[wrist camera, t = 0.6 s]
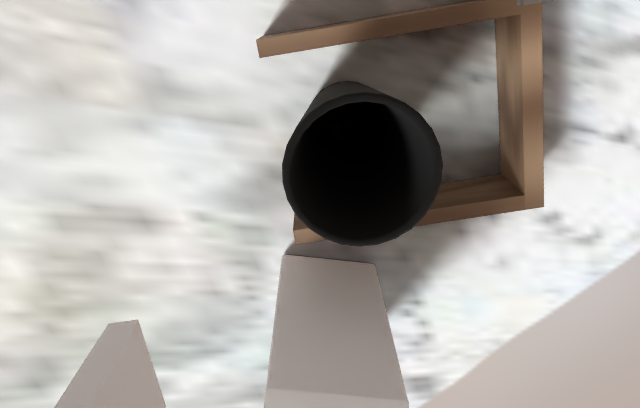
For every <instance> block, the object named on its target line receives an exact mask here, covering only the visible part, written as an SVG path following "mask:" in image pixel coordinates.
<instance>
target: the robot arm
mask: <svg viewBox="0 0 640 408" xmlns="http://www.w3.org/2000/svg"><path fill="white" fill-rule="evenodd" d="M165 407H166V405H165V402H164V399H163V396H162V392H161V389H160V386H159V383H158V380H157V377H156V374H155V371H154V368H153V365H152V362H151V358H150V355H149V352H148V349H147V346H146V343H145V340H144V337H143V334H142V331H141V327H140V324H139V321H138V320H132V321H125V322H118V323H111V324H108V326H107V327H106V329H105V330H104V332H103V333H102V335H101V336H100V338H99V339H98V341H97V342H96V344H95V346H94V347H93V349H92V350H91V352H90V353H89V355H88V356H87V358H86V359H85V361H84V363H83V364H82V366H81V367H80V369H79V370H78V372H77V373H76V375H75V376H74V378H73V380H72V381H71V383H70V384H69V386H68V387H67V389H66V390H65V392H64V393H63V395H62V396H61V398H60V400H59V401H58V403H57V404H56V406H55V407H54V408H165Z"/></svg>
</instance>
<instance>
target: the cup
mask: <svg viewBox="0 0 640 408" xmlns="http://www.w3.org/2000/svg"><path fill="white" fill-rule="evenodd" d="M442 167H443V163H442V157H441V151H440V146H439V143H438V141H437V139H436V137H435V134H434V132H433V130H432V128H431V127H430V126H429V124H428V123H427V122H426V121H425V119H424V118H423V117H422V116H421V114H419V113H418V112H417V111H415V110H414V109H413V108H411V107H410V106H409V105H407V104H406V103H405V102H402V101H400V100H398V99H395V98H393V97H391V96H388V95H386V94H384V93H381V92H379V91H377V90H375V89H372V88H370V87H368V86H365V85H363V84H360V83H357V82H349V81H347V82H338V83H336V84H333V85H330V86H328V87H327V88H325V89H324V90H322V91H321V92H320V93H319V94H318V95H317V96H316V97H315V98H314V100H313V101H312V103H311V105H310V106H309V108H308V109H307V111H306V113H305V114H304V116H303V117H302V119H301V121H300V122H299V124H298V125H297V127H296V129H295V131H294V132H293V134H292V136H291V138H290V140H289V142H288V144H287V146H286V151H285V155H284V159H283V163H282V176H283V186H284V189H285V193H286V197H287V200H288V202H289V204H290V205H291V207H292V209H293V211H294V212H295V214H296V216H297V217H298V218H299V219H300V220H301V221H302V222H303V223H304V224H305V225H306V226H307V227H308V228H309V229H310V230H312V231H313V232H315V233H316V234H318V235H320V236H321V237H323V238H324V239H327V240H330V241H333V242H336V243H339V244H342V245H351V246H369V245H378V244H381V243H384V242H387V241H390V240H393V239H396V238H397V237H399V236H400V235H402V234H404V233H405V232H407V231H409V230H410V229H412V228H413V227H414V226H415V225H416V224H417V223H418V222H419V221H420V220H421V219H422V218H423V217H424V216H425V215H426V213H427V212H428V210H429V209H430V207H431V206H432V204H433V203H434V201H435V198H436V196H437V193H438V190H439V187H440V184H441V177H442Z"/></svg>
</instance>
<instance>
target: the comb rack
mask: <svg viewBox="0 0 640 408" xmlns="http://www.w3.org/2000/svg"><path fill="white" fill-rule="evenodd" d="M547 1H553V0H472V1H466V2H460V3H454V4H448V5H443V6H437V7H431V8H425V9H419V10H413V11H407V12H401V13H395V14H389V15H384V16H378V17H372V18H366V19H360V20H354V21H348V22H342V23H336V24H330V25H324V26H319V27H313V28H307V29H301V30H295V31H289V32H283V33H277V34H271V35H265V36H262V37H260V38H259V39H257V40H256V42H257V47H258V52H259V57H260V58H262V57H268V56H274V55H280V54H286V53H292V52H298V51H304V50H310V49H316V48H322V47H328V46H334V45H340V44H346V43H352V42H358V41H364V40H370V39H376V38H382V37H388V36H394V35H399V34H405V33H411V32H417V31H423V30H429V29H435V28H441V27H447V26H453V25H459V24H465V23H471V22H477V21H483V20H489V19H495V34H496V59H497V84H498V110H499V135H500V160H501V174H499V175H493V176H486V177H480V178H473V179H467V180H460V181H454V182H447V183H441V184H440V187H439V190H438V193H437V196H436V198H435V201H434V203H433V204H432V206H431V207H430V209H429V210H428V212H427V213H426V215H425V216H424V217H423V218H422V219H421V220H420V221H419V222H418V223H417V224H416V225H415V226H421V225H427V224H434V223H441V222H447V221H454V220H460V219H467V218H474V217H480V216H487V215H493V214H500V213H507V212H513V211H520V210H526V209H533V208H540V207H544V167H543V62H542V2H547ZM293 233H294V238H295V243H296V244H302V243H309V242H315V241H322V240H327V239H324V238H323V237H321V236H320V235H318V234H316V233H315V232H313V231H312V230H310V229H309V228H308V227H307V226H306V225H305V224H304V223H303V222H302V221H301V220H300V219H299V218H298V217H297V216H296V214H295V215H294V226H293Z"/></svg>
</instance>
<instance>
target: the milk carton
mask: <svg viewBox="0 0 640 408" xmlns="http://www.w3.org/2000/svg"><path fill="white" fill-rule="evenodd" d="M264 408H409V402H408V399H407V395H406V391H405V387H404V382H403V378H402V374H401V370H400V366H399V362H398V358H397V354H396V350H395V345H394V341H393V337H392V333H391V329H390V325H389V321H388V317H387V313H386V308H385V304H384V300H383V296H382V292H381V288H380V284H379V280H378V276H377V271H376V267H375V265H374V264H369V263H360V262H351V261H341V260H332V259H322V258H313V257H303V256H293V255H283V256H282V260H281V268H280V276H279V285H278V293H277V301H276V309H275V318H274V326H273V334H272V342H271V351H270V359H269V367H268V375H267V384H266V392H265V401H264Z"/></svg>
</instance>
